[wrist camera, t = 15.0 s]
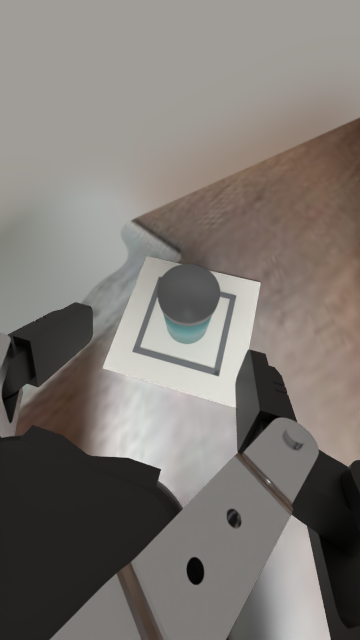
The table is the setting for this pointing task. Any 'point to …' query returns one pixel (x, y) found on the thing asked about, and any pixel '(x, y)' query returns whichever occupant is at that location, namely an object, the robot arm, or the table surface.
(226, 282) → the card
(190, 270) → the teal jar
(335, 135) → the table surface
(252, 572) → the robot arm
